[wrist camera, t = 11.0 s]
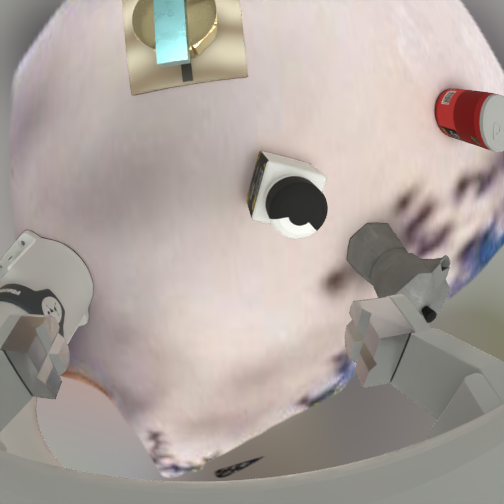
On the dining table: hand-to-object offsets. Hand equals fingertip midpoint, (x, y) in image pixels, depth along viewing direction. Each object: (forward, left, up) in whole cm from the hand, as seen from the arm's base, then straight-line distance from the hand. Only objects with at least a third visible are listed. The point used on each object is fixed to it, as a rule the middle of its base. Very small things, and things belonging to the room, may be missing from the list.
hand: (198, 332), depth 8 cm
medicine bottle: (+6, -8, -34) cm, 36 cm away
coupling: (+2, +15, -31) cm, 35 cm away
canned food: (+36, -6, -34) cm, 50 cm away
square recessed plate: (+2, +15, -34) cm, 37 cm away
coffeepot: (+16, -24, -34) cm, 45 cm away
